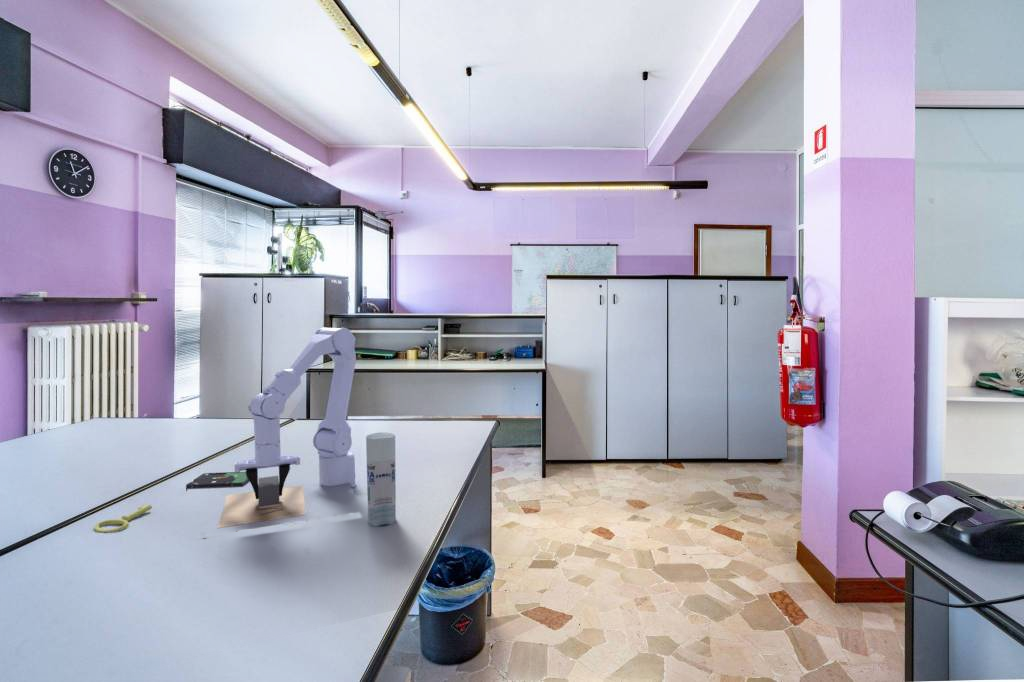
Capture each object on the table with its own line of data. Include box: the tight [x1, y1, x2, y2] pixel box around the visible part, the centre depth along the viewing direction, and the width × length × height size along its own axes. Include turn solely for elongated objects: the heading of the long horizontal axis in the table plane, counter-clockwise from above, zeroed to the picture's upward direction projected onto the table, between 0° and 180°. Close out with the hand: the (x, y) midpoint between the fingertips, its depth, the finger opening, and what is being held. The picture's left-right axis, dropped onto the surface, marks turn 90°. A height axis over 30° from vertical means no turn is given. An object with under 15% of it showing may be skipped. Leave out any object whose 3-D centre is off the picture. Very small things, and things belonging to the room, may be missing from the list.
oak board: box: [217, 485, 307, 529], centre depth 125 cm, size 18×22×1 cm
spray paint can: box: [365, 432, 397, 527], centre depth 118 cm, size 6×6×20 cm
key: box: [93, 504, 153, 533], centre depth 118 cm, size 7×12×2 cm, turn 6°
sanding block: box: [258, 475, 279, 508], centre depth 127 cm, size 4×8×5 cm, turn 26°
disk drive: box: [185, 471, 250, 492], centre depth 143 cm, size 10×3×15 cm
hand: (269, 496), depth 127 cm, fingers closed on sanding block, 4 cm apart
